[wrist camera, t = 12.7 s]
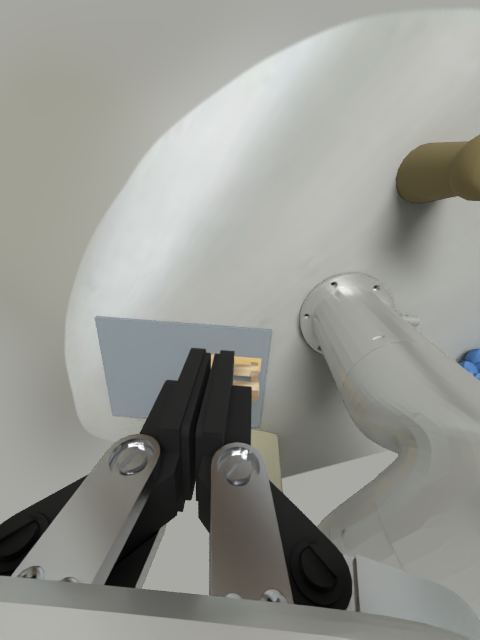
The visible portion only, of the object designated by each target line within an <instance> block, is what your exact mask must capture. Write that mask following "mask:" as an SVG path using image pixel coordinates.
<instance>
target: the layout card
mask: <svg viewBox="0 0 480 640" xmlns="http://www.w3.org/2000/svg"><path fill="white" fill-rule="evenodd" d="M95 321H96V327H97V332H98V338H99V343H100V349H101V354H102V360H103V365H104V371H105V377H106V382H107V388H108V393H109V399H110V404H111V410H112V415H113V416H125V417H137V418H148V415H149V413H150V411H151V409H152V407H153V405H154V403H155V401H156V399H157V397H158V395H159V393H160V391H161V389H162V386H163V384H164V383H165V381H166V380H177V381H178V378H179V376H180V374H181V371H182V369H183V366H184V364H185V362H186V359H187V357H188V354H189V352H190V350H191V348H201V349H206V353H211V362H213V359H214V355H215V353H217V354H220V351H221V350H226V351H235V355H234V364H242V365H251V362H257V363H258V366H259V374H258V383H259V397H258V401H252V408H251V427H255V428H260V421H261V413H262V405H263V397H264V389H265V381H266V373H267V364H268V356H269V348H270V340H271V332H272V330H270V329H257V328H244V327H231V326H218V325H205V324H192V323H179V322H166V321H153V320H140V319H127V318H114V317H101V316H96V317H95ZM233 380H234V381H246V382H251V377H249V376H237V375H233Z"/></svg>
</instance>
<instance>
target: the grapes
mask: <svg viewBox="0 0 480 640" xmlns="http://www.w3.org/2000/svg"><path fill="white" fill-rule="evenodd" d="M465 359H466V361H462V362H459V363H458V364H459V365H461V366H462V367H463V368H464V369H466V370H467V371H468V372H470V373H471V374H472V375H473V376H475V377H476V378H477V379H479V380H480V349H473V350H471V351H469V352H468V353H467V355H466V356H465Z"/></svg>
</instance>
